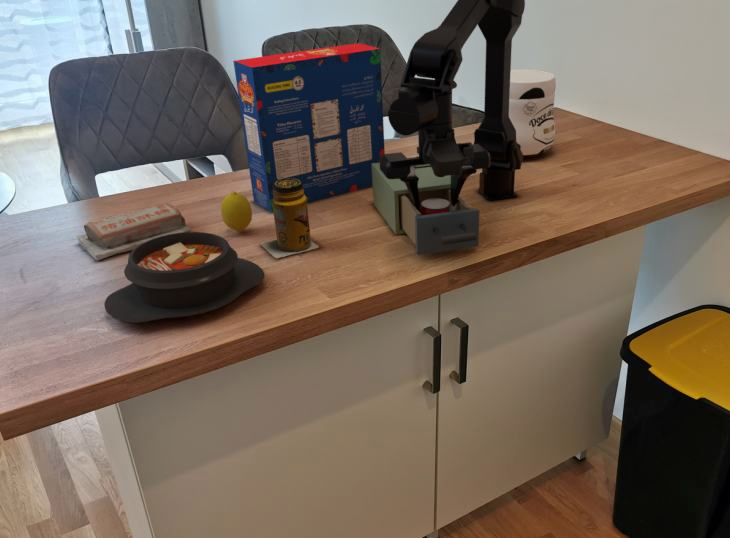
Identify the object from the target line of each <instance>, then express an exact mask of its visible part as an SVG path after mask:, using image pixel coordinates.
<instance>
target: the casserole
mask: <svg viewBox="0 0 730 538" xmlns="http://www.w3.org/2000/svg"><path fill="white" fill-rule="evenodd" d="M123 272H124V273H123V274H124V277H125V278H126V280H128V281H129V282H130V284H128V285H125V286H124V287H122V288H120V289H118V290H116V291H113V292H112V293H110V294H109V295H107V296H106V298H105V300H104V304H103V305H104V310H105V311H106V313H107V314H108V315H109V316H110V317H112V318H113V319H115V320H118V321H120V322H124V323H129V324H142V323H147V322H153V321H158V320H163V319H172V318H185V317H192V316H196V315H201V314H205V313H209V312H211V311H214V310H217V309H219V308H222V307H224V306H226V305H227V304H229V303H231V302H233V301H235V299H237V298H238V297H240V296H241V295H242V294H243V293H245V292H246V291H248V290H250V289H252V288H254V287H256V286H257V285H258V284H260V283H262V282H263V281H264V279H265V272H264V269H263V268H262V267H260V266H259V265H258V264H257V263H255V262H253V261H250V260H248V259H245V258H242V257H239V255H238V253H237V251H236V250H235V249H234V248H232V247H231V245H230V243H229V241H228V240H226V238H224V237H222V236H221V235H217V234H215V233H210V232H204V231H203V232H201V231H191V232H184V233H175V234H169V235H165V236H161V237H157V238H154V239H151V240H149V241H147V242H144V243H143V244H141V245H139V246H137V247H136V248H135V249H134V250H131V252H130V253H129V255H128V258H127V264H126V265H125V266H124V271H123Z"/></svg>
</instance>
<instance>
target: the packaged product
mask: <svg viewBox="0 0 730 538" xmlns="http://www.w3.org/2000/svg"><path fill="white" fill-rule="evenodd" d="M83 228H84V231H85V234H81V235H77V236H76V239H77V242H78V243H79V244H80V246H81V247H82V248H83V249H84V250H85V251H86V252H87V253H88V254H89V255H90V256H91V257H93V258H94V259H95V260H96V261H100V260H104V259H106V258H110V257H112V256H115V255H118V254H122V253H126V252H129V251H133V250H134V249H135V248H136V247H137V246H139V245H141V244H143V243H144V242H147V241H149V240H151V239H154V238H157V237H161V236H165V235H169V234H175V233H184V232H192V228H191V227H189V226H187V225H186V219H185V217H184V216H183V215H182V212H181V210H179V209H178V207H175V206H174V205H173V204H171V203H170V202H164V203H160V204H156V205H151V206H148V207H144V208H143V207H142V208H139V209H136V210H131V211H127V212H123V213H119V214H114V215H111V216H107V217H103V218H99V219H95V220H92V221H91V220H90V221H88V222H86V223H84V224H83Z"/></svg>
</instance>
